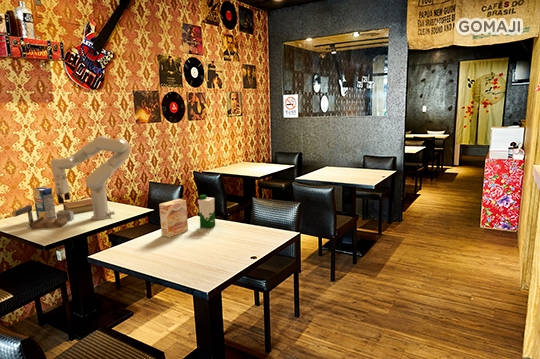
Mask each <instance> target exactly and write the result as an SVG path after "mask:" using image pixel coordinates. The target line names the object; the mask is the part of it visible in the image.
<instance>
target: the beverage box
mask: <svg viewBox="0 0 540 359" xmlns="http://www.w3.org/2000/svg"><path fill="white" fill-rule="evenodd" d="M32 195H33V200H34V201H33V202H34V207H35V214H36V220H37V219H39V218H41V217H43V219H48V218H57V217H56V213H57V212H56V208H55V207H56V206H55V200H54V193H53V188H52V187H47V186H40V187H35V188H32Z"/></svg>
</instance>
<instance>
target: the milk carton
mask: <svg viewBox="0 0 540 359" xmlns="http://www.w3.org/2000/svg"><path fill="white" fill-rule="evenodd" d="M197 202H198V209H199V210H198V211H199V226H200V229H212V228H213V227H215V226H216V215H215V214H216V213H215V211H216V210H215V197H208V196H207V195H206V194H200V195H199V199H198V200H197Z"/></svg>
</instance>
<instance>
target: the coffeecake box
mask: <svg viewBox="0 0 540 359" xmlns="http://www.w3.org/2000/svg"><path fill="white" fill-rule="evenodd" d="M158 206H159V217H160V229H161V230H160V231H161V236H162V235H163V236H162V237H165V236H166V237H165V238H168V237H169V238H172V237H174V235H175V236H177V234H178V235H180V234H183V233H186V232H188V231H189V225H188V222H189V221H188V209H187V200H186V199H182V198H176V199H173V200H170V201H166V202H162V203H159V204H158ZM185 231H186V232H185ZM182 232H183V233H182ZM171 236H172V237H171Z"/></svg>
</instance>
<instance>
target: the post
mask: <svg viewBox="0 0 540 359" xmlns="http://www.w3.org/2000/svg"><path fill="white" fill-rule="evenodd" d="M27 217H28V224H29V226H28V228H29V229H32V227H31V223H32V222H34V218H33V217H34V215H33V209H32V210H31V211H28V212H27Z"/></svg>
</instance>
